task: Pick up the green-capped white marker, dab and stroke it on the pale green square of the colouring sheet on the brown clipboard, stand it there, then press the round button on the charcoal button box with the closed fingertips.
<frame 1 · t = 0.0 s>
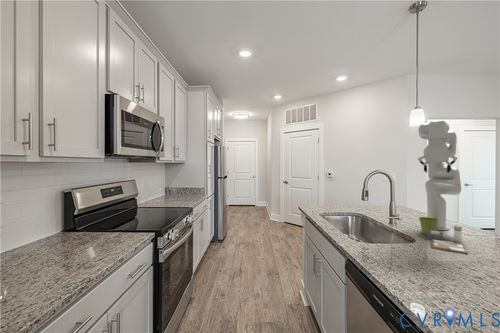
hand: (436, 172, 129), 37 cm above the table, tool pointing down, fingers open, 9 cm apart
button cap: (434, 233, 126), point 3 cm above the table, slide at 0.0 cm
plant pot: (428, 233, 136), on the table
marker: (457, 241, 121), on the table
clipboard: (448, 246, 114), on the table
button box: (434, 238, 126), on the table
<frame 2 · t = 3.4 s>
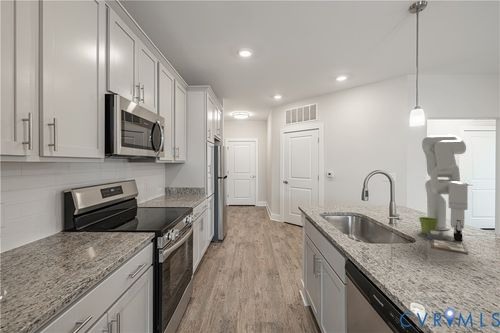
hand: (457, 240, 121), 1 cm above the table, tool pointing down, fingers closed on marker, 3 cm apart
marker: (457, 241, 121), on the table, touching gripper
everything else where it was.
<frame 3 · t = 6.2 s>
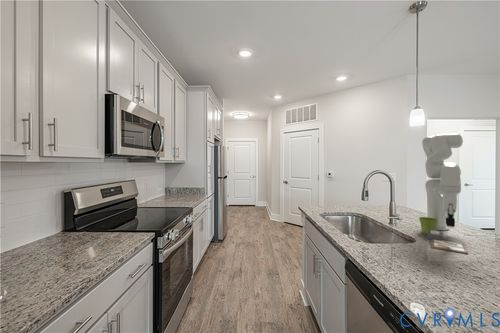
hand: (450, 225, 116), 10 cm above the table, tool pointing down, fingers closed on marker, 3 cm apart
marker: (450, 226, 116), point 9 cm above the table, touching gripper
everything else where it was.
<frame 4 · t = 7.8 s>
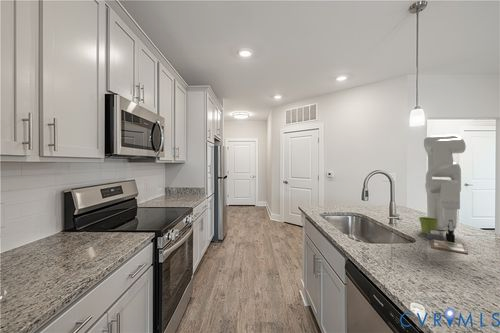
hand: (450, 240, 116), 2 cm above the table, tool pointing down, fingers closed on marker, 3 cm apart
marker: (450, 242, 116), point 1 cm above the table, touching gripper
everything else where it was.
when the fingers open (2 cm above the table, at t = 9.2 s): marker stays where it is, resting on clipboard.
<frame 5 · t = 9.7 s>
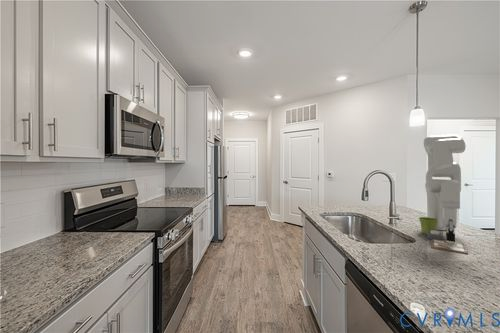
hand: (450, 238, 116), 3 cm above the table, tool pointing down, fingers open, 8 cm apart
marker: (450, 243, 116), point 1 cm above the table, touching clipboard
everything else where it was.
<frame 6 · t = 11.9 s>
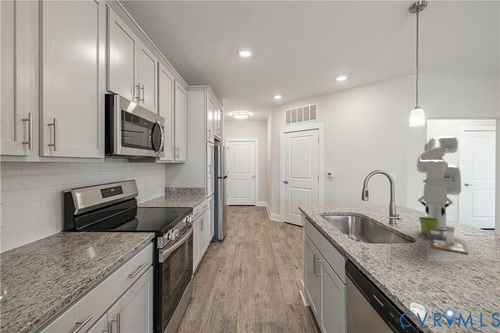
hand: (434, 214, 126), 13 cm above the table, tool pointing down, fingers open, 5 cm apart
nothing on the table moved.
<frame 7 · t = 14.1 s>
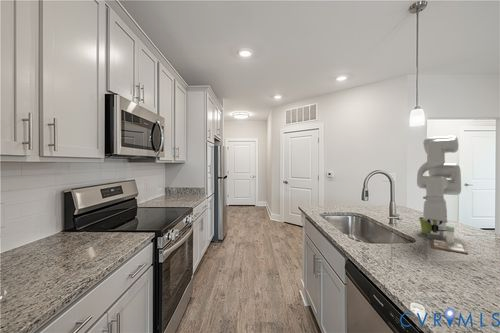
hand: (434, 232, 126), 4 cm above the table, tool pointing down, fingers closed
button cap: (434, 234, 126), point 2 cm above the table, slide at 0.4 cm, touching gripper
everything else where it was.
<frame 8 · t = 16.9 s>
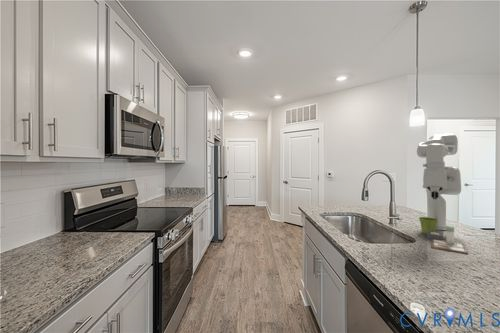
hand: (434, 198, 126), 22 cm above the table, tool pointing down, fingers closed
button cap: (434, 235, 126), point 2 cm above the table, slide at 1.0 cm
everything else where it was.
at the end: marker 0.0 cm from the target spot, point 0.8 cm above the table; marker tilted 0°; button cap slide at 1.0 cm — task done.
